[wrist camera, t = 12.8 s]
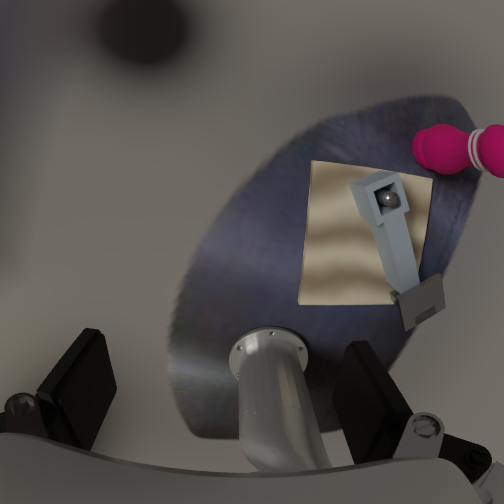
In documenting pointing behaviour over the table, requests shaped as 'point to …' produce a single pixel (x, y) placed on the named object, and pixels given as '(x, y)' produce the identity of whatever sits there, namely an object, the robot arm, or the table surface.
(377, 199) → the post
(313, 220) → the base board
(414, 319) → the block
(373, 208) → the link
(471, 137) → the pepper mill
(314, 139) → the table surface
